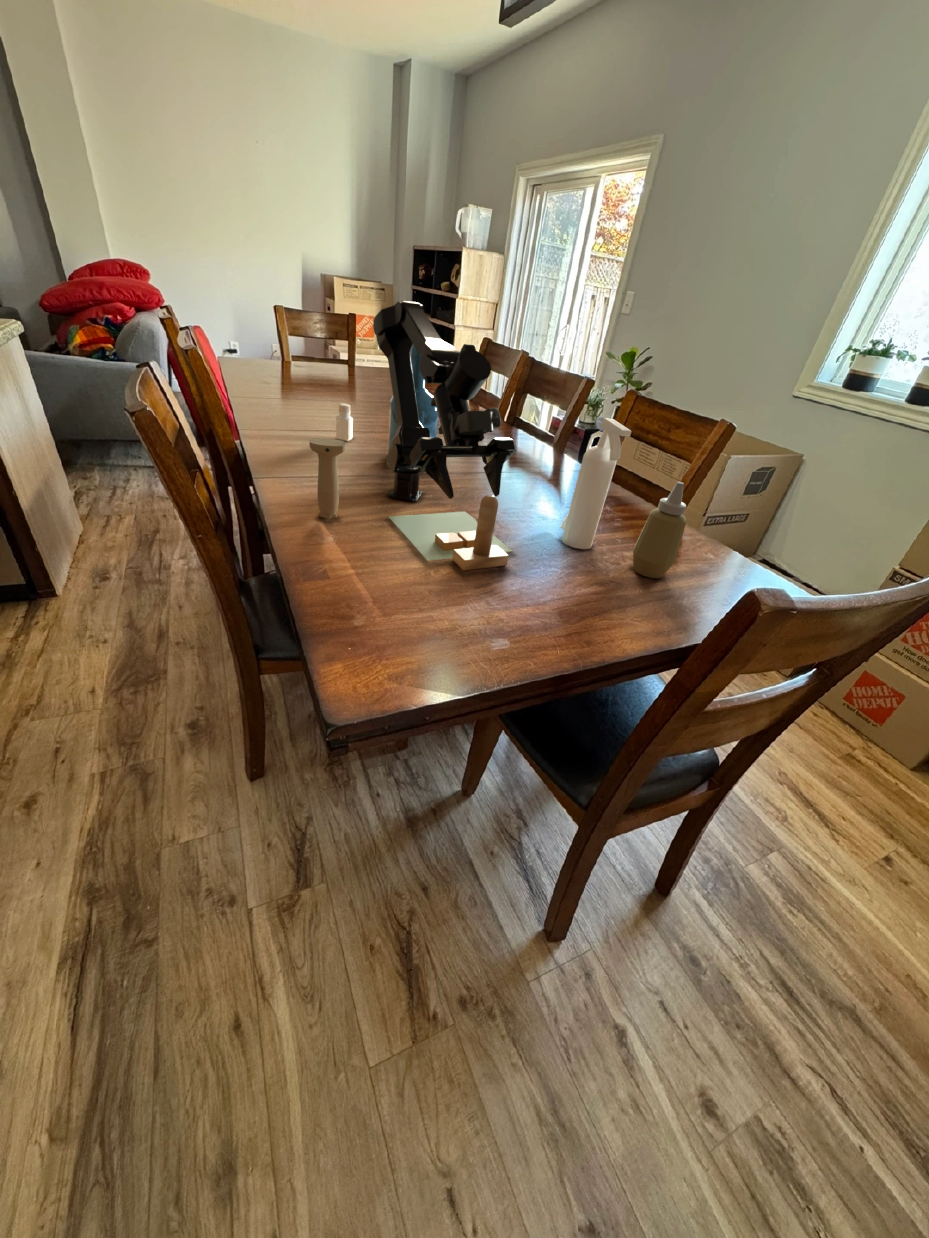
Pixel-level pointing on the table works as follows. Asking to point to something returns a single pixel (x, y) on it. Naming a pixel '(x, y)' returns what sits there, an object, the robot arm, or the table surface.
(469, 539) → the block
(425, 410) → the blue bottle
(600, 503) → the white spray bottle
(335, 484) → the handle
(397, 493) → the robot arm
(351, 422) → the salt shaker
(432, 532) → the mat
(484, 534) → the rubber stamp
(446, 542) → the block
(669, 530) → the squeeze bottle
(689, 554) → the table surface
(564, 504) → the table surface
